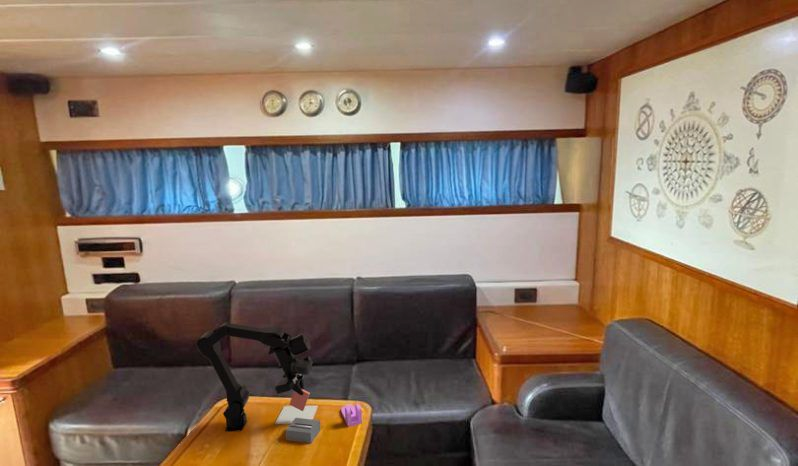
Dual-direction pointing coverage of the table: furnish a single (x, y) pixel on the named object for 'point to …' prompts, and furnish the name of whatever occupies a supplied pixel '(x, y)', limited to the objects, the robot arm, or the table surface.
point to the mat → (295, 414)
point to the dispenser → (303, 430)
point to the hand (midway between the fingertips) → (302, 394)
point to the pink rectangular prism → (299, 400)
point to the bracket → (356, 414)
